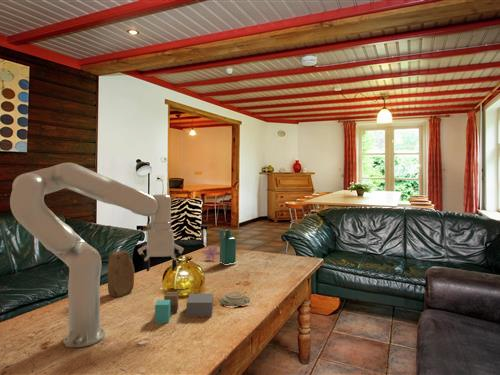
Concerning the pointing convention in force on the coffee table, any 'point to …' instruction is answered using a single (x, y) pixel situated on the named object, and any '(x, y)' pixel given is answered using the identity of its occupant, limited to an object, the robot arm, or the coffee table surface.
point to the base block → (199, 305)
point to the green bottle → (227, 247)
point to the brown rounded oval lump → (120, 273)
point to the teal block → (162, 311)
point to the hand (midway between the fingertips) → (160, 270)
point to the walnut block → (172, 301)
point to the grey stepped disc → (234, 299)
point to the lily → (211, 252)
